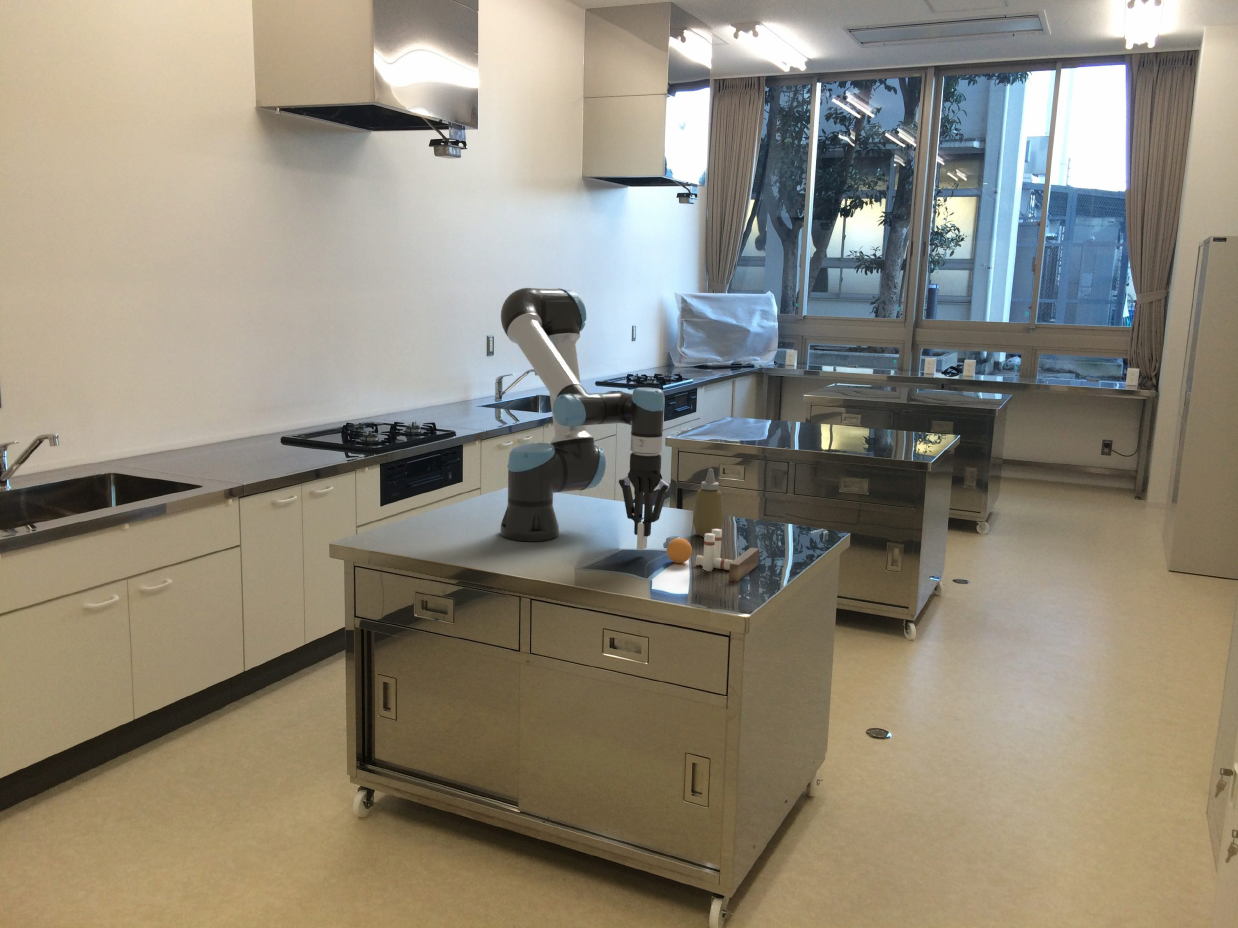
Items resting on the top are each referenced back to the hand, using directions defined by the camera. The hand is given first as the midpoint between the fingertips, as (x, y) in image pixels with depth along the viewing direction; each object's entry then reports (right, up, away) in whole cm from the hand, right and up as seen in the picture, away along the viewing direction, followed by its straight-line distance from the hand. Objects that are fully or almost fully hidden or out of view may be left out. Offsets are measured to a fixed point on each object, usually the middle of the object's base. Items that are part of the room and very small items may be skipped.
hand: (641, 548), depth 238 cm
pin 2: (+17, -4, -5) cm, 18 cm away
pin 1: (+15, -4, -9) cm, 18 cm away
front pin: (+13, -2, -6) cm, 14 cm away
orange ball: (+9, 0, -5) cm, 10 cm away
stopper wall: (+24, -5, -10) cm, 26 cm away
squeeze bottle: (+18, +1, +23) cm, 29 cm away
